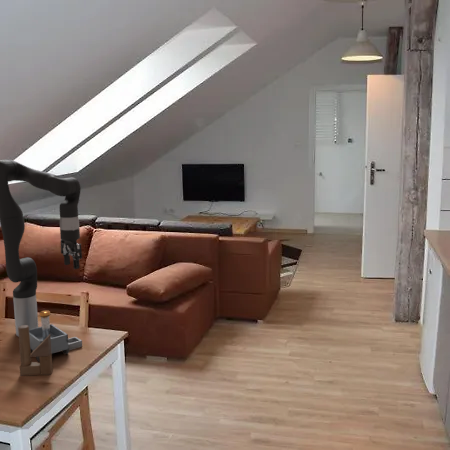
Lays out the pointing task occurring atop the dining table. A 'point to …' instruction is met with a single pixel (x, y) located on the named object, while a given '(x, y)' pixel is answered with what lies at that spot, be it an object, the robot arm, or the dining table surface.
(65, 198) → the robot arm
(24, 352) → the brown wooden stand
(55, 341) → the grey tray with sleeve
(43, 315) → the pin
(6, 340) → the dining table surface
